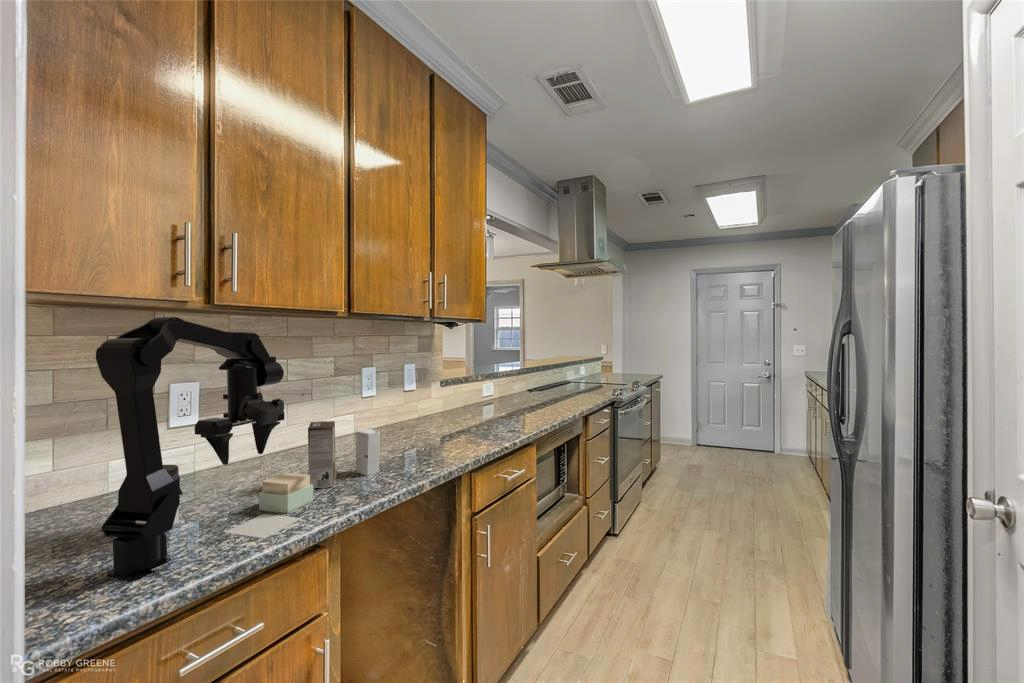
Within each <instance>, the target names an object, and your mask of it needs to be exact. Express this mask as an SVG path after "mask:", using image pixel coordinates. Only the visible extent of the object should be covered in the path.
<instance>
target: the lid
mask: <svg viewBox="0 0 1024 683" xmlns="http://www.w3.org/2000/svg"><path fill="white" fill-rule="evenodd" d="M309 485H310V475H309V474H304V473H303V474H302V473H293V472H285V473H281V474H279V475H276V476H274V477H270V478H268V479H266V480H262V491H263V492H265V493H275V494H284V495H289V494H291V493H293V492H296V491H298V490H300V489H302V488H304V487H307V486H309Z"/></svg>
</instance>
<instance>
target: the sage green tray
mask: <svg viewBox="0 0 1024 683" xmlns="http://www.w3.org/2000/svg"><path fill="white" fill-rule="evenodd" d="M313 502H314V489H313V484H310V485H309V486H307V487H304V488H302V489H300V490H298V491H296V492H293V493H291V494H289V495H284V494H275V493H265V492H263V490H262V491H260V492H258V510H259V511H265V512H270V513H271V512H272V513H280V514H281V513H282V514H291V513H292V512H294V511H296V510H298V509H300V508H302V507H304V506H306V505H308V504H310V503H313Z"/></svg>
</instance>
